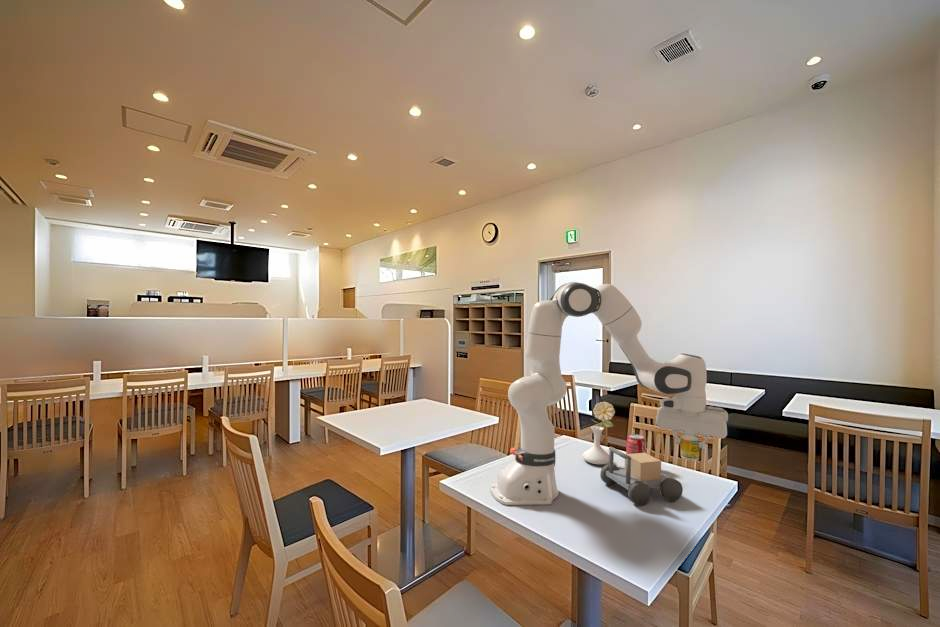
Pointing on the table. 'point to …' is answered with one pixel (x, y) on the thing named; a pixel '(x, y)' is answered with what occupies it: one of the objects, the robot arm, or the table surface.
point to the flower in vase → (599, 434)
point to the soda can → (635, 444)
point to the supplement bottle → (690, 446)
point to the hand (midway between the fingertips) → (689, 446)
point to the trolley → (640, 477)
